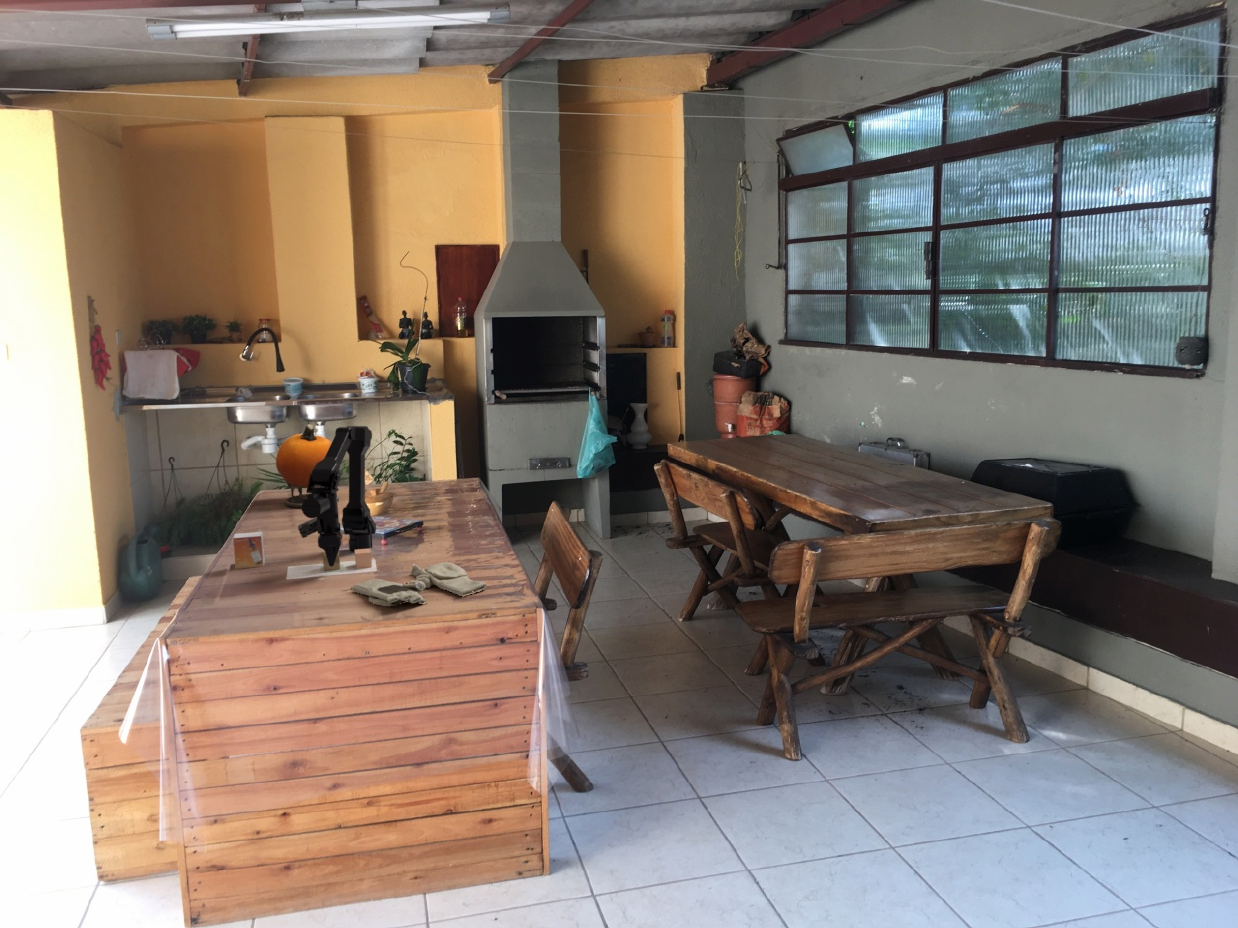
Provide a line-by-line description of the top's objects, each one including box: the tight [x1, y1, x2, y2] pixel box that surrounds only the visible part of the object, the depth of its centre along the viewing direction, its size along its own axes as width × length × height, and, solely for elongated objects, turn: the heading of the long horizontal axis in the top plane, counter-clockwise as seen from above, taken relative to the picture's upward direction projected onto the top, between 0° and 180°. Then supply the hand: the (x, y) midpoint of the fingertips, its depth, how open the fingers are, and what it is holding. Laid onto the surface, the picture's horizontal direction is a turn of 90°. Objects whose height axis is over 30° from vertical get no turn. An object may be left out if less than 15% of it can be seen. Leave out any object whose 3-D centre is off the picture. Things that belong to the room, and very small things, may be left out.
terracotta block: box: [354, 549, 372, 569], centre depth 301 cm, size 4×4×4 cm
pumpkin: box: [275, 424, 340, 509], centre depth 386 cm, size 22×22×30 cm
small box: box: [232, 531, 266, 570], centre depth 304 cm, size 8×6×10 cm
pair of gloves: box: [351, 561, 487, 608], centre depth 282 cm, size 30×26×5 cm
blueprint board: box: [285, 558, 378, 580], centre depth 300 cm, size 25×13×1 cm, turn 105°
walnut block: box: [322, 550, 341, 571], centre depth 299 cm, size 4×4×4 cm
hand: (331, 561), depth 299 cm, fingers open, 9 cm apart
